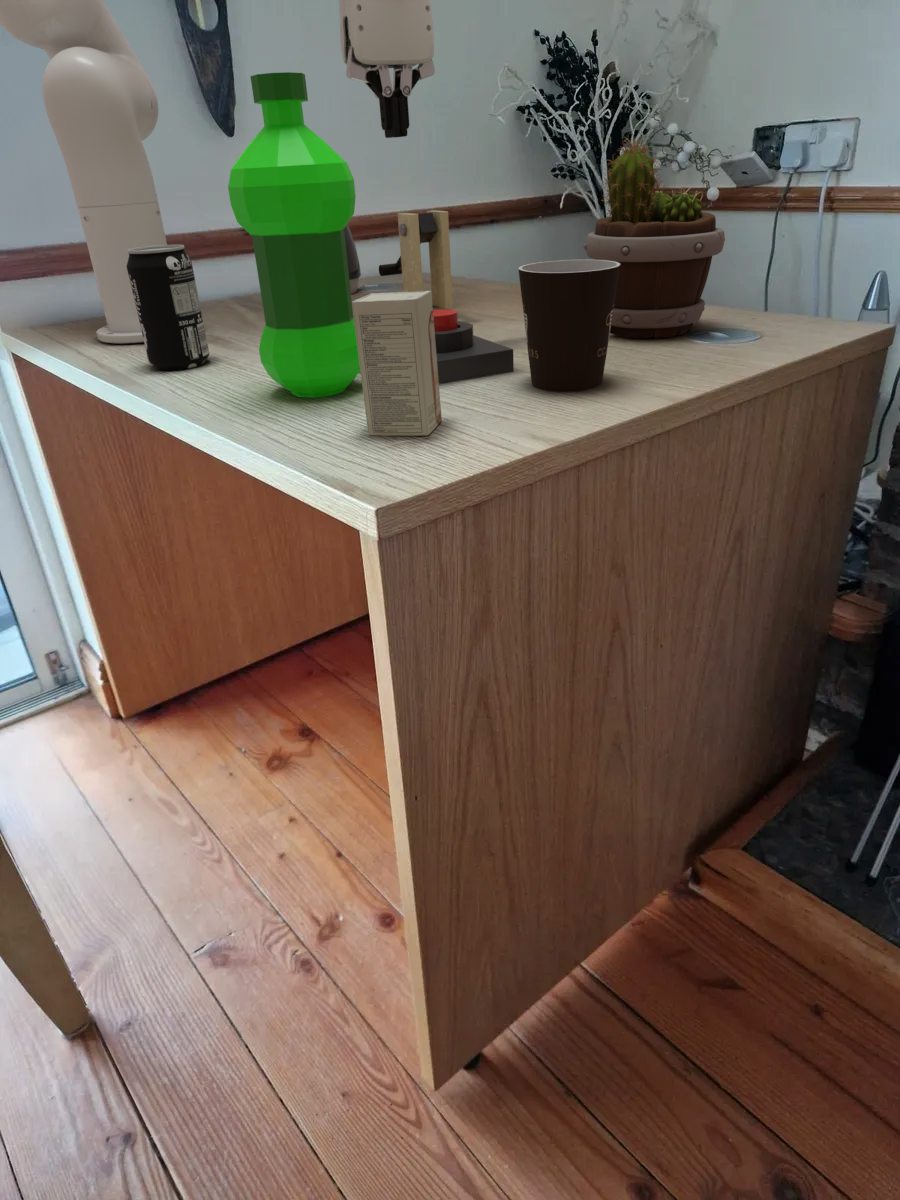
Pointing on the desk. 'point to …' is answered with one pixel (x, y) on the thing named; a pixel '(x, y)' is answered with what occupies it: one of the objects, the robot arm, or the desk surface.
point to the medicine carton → (398, 362)
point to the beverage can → (168, 306)
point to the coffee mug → (568, 321)
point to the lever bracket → (437, 254)
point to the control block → (469, 355)
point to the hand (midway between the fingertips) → (396, 136)
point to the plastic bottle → (298, 242)
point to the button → (445, 320)
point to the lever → (426, 235)
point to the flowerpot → (653, 249)
